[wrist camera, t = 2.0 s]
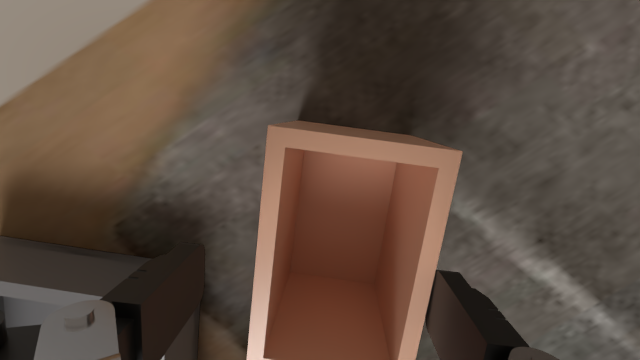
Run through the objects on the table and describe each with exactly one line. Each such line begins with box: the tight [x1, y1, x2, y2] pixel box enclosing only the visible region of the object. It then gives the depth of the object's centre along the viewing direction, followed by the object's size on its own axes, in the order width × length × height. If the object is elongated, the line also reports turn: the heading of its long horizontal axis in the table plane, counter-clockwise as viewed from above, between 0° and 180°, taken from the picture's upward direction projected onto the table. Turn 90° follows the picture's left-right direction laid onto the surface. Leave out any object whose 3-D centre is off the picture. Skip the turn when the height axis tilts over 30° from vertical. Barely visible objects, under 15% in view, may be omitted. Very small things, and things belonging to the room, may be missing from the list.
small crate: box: [247, 120, 463, 360], centre depth 14 cm, size 6×9×7 cm, turn 173°
